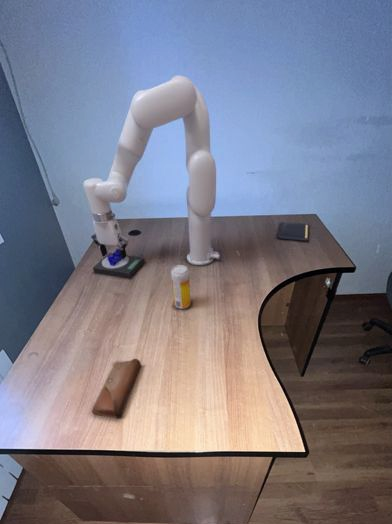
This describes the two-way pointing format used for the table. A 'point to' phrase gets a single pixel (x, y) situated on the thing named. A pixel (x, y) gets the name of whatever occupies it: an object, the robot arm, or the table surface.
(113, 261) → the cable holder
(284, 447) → the table surface
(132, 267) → the scale
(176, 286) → the pill bottle
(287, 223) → the black flat rectangular slab
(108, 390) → the sunglasses case
